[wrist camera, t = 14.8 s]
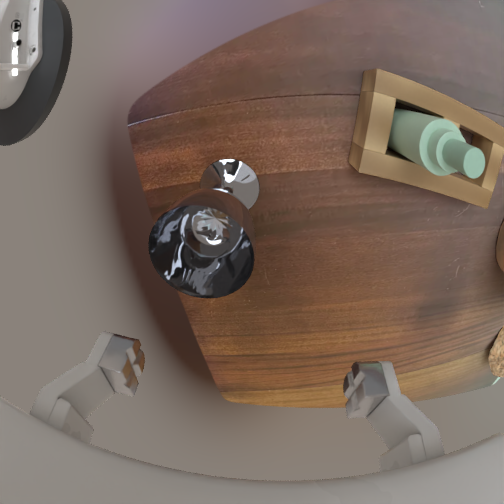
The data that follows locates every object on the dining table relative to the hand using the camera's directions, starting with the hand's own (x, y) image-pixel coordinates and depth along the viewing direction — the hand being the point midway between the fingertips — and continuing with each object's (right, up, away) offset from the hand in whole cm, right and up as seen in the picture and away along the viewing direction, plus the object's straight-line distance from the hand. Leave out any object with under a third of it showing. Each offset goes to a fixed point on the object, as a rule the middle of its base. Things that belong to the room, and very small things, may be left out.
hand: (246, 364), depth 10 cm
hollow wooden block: (+22, +18, +17) cm, 33 cm away
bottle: (+17, +18, +17) cm, 30 cm away
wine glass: (-2, +12, +23) cm, 26 cm away
